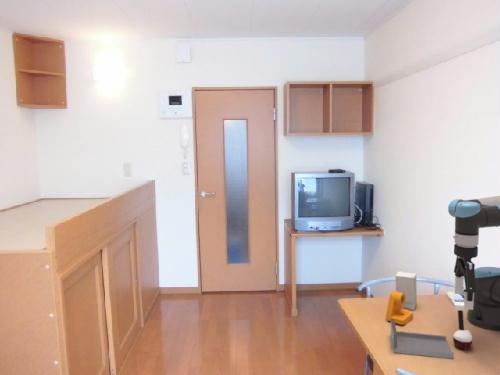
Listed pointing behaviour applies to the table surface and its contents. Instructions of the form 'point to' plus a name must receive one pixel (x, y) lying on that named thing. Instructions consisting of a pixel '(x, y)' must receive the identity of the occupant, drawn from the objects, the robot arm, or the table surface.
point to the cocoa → (462, 334)
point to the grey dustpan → (419, 344)
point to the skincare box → (407, 288)
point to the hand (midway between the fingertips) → (463, 301)
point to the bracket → (398, 309)
